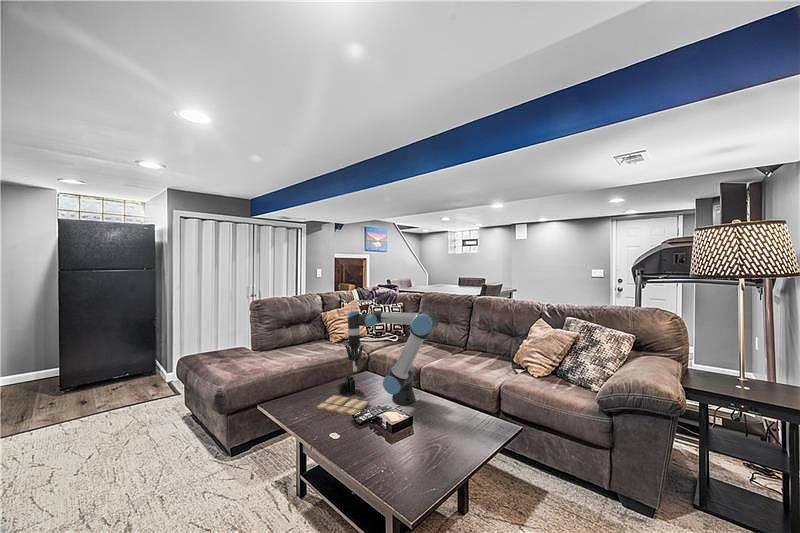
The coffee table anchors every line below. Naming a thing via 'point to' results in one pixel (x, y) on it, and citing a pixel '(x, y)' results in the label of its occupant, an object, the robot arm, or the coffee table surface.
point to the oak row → (338, 409)
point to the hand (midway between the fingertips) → (355, 370)
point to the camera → (347, 385)
